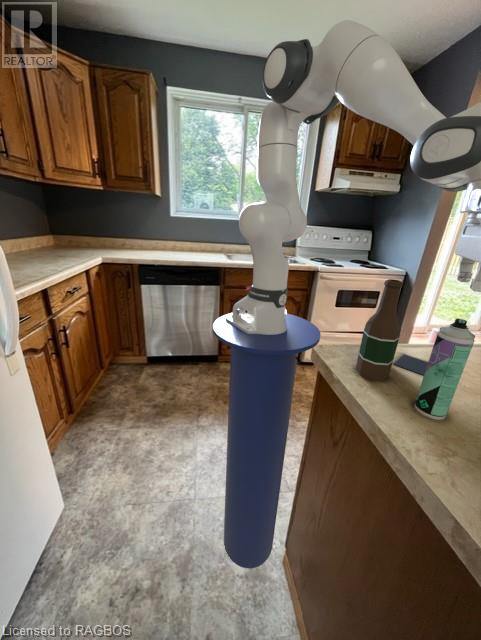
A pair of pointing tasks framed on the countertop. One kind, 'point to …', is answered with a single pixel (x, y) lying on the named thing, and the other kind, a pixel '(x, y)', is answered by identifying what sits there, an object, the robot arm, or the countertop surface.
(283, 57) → the robot arm
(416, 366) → the mat
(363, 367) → the beer bottle
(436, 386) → the spray can
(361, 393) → the countertop surface
